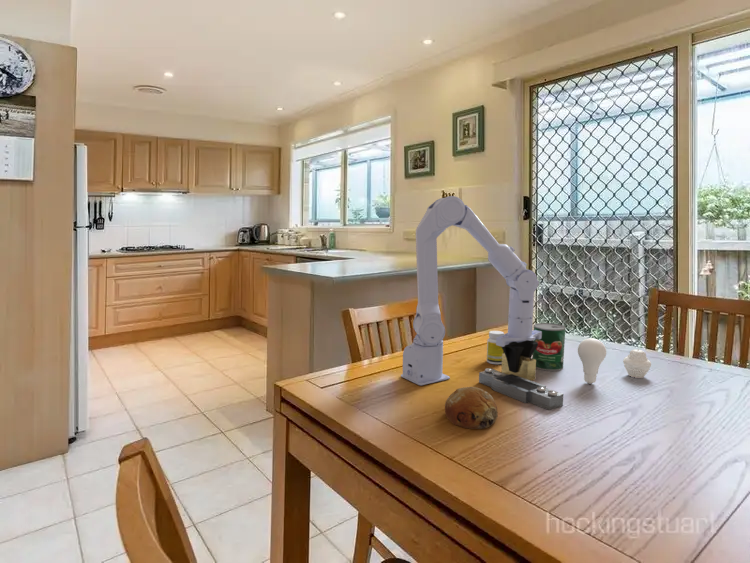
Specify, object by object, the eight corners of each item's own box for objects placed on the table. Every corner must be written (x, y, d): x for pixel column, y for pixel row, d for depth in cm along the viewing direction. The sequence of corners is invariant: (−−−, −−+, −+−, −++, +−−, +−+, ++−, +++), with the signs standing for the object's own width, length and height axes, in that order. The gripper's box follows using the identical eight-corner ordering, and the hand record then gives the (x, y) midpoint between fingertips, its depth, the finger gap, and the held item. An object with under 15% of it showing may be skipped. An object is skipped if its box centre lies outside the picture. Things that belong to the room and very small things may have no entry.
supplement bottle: (506, 364, 124) (507, 334, 122) (488, 364, 124) (489, 334, 123) (501, 359, 128) (503, 330, 127) (484, 359, 128) (485, 330, 127)
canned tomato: (538, 371, 119) (540, 329, 117) (527, 361, 126) (529, 322, 125) (568, 371, 119) (571, 329, 117) (556, 361, 126) (558, 322, 125)
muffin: (655, 378, 113) (658, 350, 113) (640, 381, 111) (642, 353, 110) (632, 371, 119) (634, 344, 118) (616, 374, 116) (618, 347, 115)
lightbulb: (588, 389, 106) (591, 342, 104) (570, 380, 111) (572, 336, 110) (610, 386, 107) (613, 341, 106) (591, 378, 113) (594, 334, 112)
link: (527, 381, 111) (528, 360, 110) (501, 372, 117) (502, 352, 117) (535, 379, 112) (536, 358, 111) (509, 370, 119) (510, 350, 118)
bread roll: (491, 429, 93) (487, 388, 96) (506, 428, 83) (502, 383, 86) (442, 429, 93) (440, 389, 95) (452, 429, 83) (449, 384, 86)
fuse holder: (545, 411, 93) (546, 396, 93) (475, 383, 109) (476, 370, 109) (565, 404, 97) (566, 390, 96) (495, 378, 113) (495, 366, 112)
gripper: (513, 323, 106) (511, 380, 107) (553, 316, 113) (550, 369, 115) (490, 317, 111) (488, 371, 113) (529, 311, 119) (527, 362, 121)
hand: (518, 370), depth 114 cm, fingers closed on link, 3 cm apart
